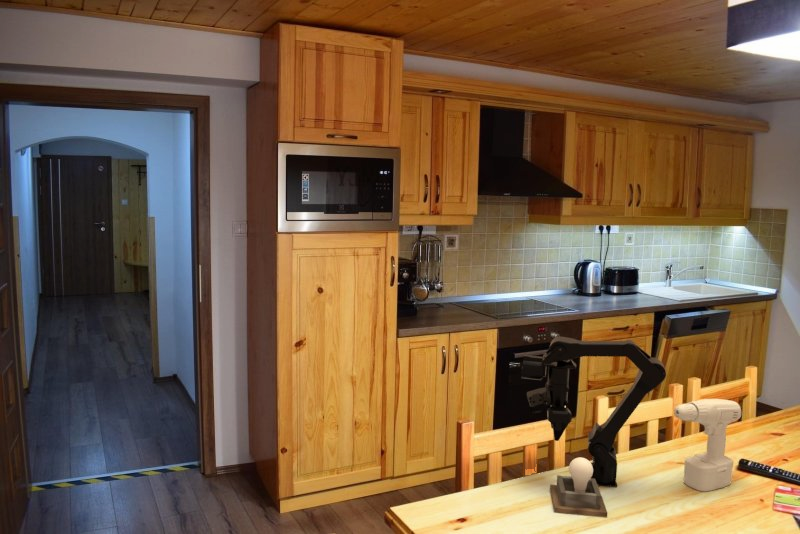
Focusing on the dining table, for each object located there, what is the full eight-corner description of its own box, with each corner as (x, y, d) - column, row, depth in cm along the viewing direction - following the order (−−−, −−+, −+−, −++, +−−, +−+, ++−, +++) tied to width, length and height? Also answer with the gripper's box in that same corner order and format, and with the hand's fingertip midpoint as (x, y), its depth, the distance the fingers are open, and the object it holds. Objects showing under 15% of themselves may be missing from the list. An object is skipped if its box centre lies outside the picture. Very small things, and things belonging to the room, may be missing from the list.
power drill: (657, 486, 180) (664, 400, 177) (715, 471, 191) (723, 390, 188) (682, 500, 173) (690, 410, 169) (742, 483, 183) (750, 399, 180)
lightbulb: (592, 505, 166) (594, 464, 164) (567, 502, 167) (569, 461, 166) (591, 494, 172) (593, 455, 170) (567, 491, 173) (569, 452, 172)
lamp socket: (598, 492, 175) (599, 476, 175) (607, 517, 163) (608, 499, 162) (550, 488, 177) (551, 472, 176) (554, 512, 164) (555, 494, 164)
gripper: (527, 370, 193) (524, 420, 195) (531, 390, 174) (528, 445, 176) (565, 372, 191) (562, 423, 193) (573, 392, 173) (569, 448, 175)
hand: (554, 434), depth 185 cm, fingers open, 9 cm apart
